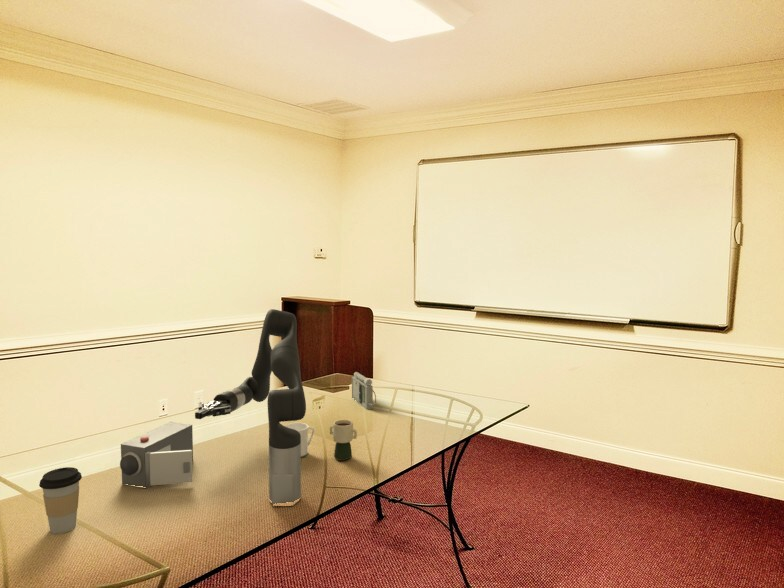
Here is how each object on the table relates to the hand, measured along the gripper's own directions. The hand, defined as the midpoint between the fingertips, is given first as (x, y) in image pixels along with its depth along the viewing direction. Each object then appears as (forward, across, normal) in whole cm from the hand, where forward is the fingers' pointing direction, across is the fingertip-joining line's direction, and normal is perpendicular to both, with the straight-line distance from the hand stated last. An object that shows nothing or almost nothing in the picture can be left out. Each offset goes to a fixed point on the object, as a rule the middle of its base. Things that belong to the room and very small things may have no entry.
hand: (197, 416), depth 168 cm
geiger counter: (-90, +24, +20) cm, 96 cm away
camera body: (+3, -14, +20) cm, 24 cm away
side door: (+10, -3, +19) cm, 22 cm away
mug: (-27, +22, +20) cm, 40 cm away
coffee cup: (+38, -13, +20) cm, 45 cm away
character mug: (-29, +39, +20) cm, 52 cm away
